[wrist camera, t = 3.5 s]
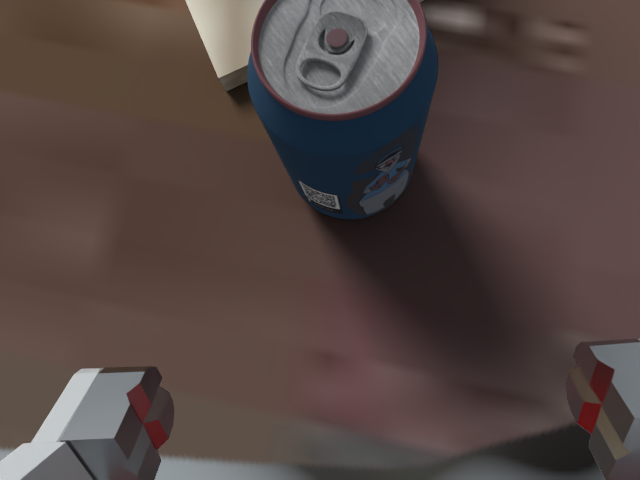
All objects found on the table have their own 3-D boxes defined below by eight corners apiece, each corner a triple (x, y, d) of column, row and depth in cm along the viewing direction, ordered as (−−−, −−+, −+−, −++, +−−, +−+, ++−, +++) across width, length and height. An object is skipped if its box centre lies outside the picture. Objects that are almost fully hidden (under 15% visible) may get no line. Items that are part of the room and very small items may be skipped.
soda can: (323, 96, 27) (288, -81, 15) (431, 137, 26) (481, -23, 14) (273, 197, 26) (196, 89, 14) (383, 244, 25) (393, 167, 13)
